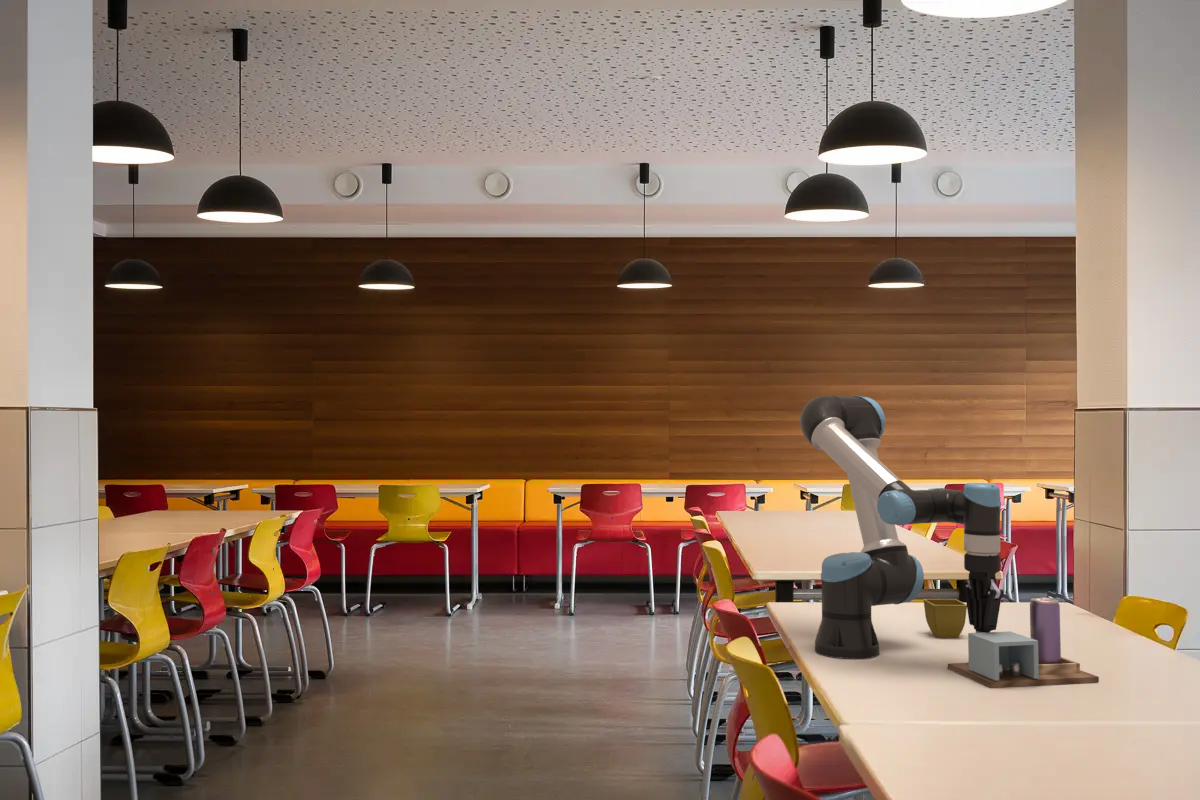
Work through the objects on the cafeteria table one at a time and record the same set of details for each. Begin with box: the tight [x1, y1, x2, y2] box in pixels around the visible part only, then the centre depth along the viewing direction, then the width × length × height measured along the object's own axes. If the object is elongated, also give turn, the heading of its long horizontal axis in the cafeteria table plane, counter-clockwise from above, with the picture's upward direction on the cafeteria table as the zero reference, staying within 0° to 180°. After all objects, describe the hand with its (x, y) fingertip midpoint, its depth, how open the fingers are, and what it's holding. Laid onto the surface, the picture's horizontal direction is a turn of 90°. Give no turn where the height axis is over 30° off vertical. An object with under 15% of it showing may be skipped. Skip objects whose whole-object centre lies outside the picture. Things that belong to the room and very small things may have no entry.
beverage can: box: [1029, 597, 1062, 665], centre depth 215 cm, size 6×6×15 cm
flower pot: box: [923, 598, 968, 639], centre depth 256 cm, size 9×9×9 cm
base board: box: [946, 657, 1100, 689], centre depth 214 cm, size 25×17×3 cm
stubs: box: [999, 661, 1021, 678], centre depth 208 cm, size 6×2×3 cm, turn 100°
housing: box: [967, 631, 1039, 681], centre depth 209 cm, size 10×10×8 cm
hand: (982, 660), depth 217 cm, fingers closed
